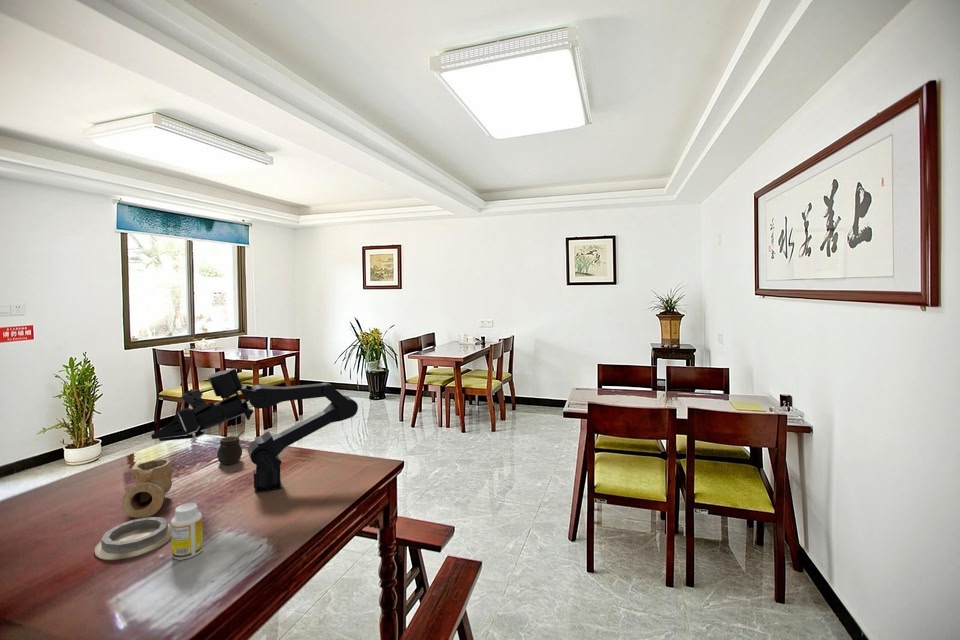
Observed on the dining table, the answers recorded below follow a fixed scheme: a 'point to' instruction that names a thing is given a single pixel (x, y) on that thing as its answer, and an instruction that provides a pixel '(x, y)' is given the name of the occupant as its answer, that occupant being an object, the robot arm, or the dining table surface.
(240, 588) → the dining table surface
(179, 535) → the supplement bottle
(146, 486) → the pipe
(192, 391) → the robot arm
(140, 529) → the holder ring
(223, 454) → the mate gourd
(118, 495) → the dining table surface
